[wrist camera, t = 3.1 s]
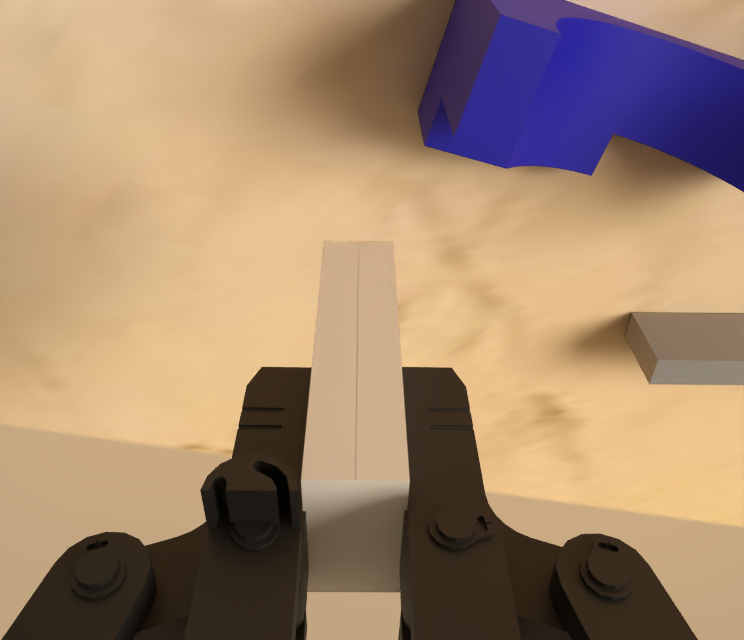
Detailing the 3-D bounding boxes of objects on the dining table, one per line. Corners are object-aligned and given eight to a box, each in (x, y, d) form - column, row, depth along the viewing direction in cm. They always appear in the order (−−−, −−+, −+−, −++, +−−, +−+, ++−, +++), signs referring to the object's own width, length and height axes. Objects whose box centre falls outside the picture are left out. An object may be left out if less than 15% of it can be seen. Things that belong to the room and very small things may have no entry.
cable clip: (417, 110, 23) (434, 190, 18) (466, -34, 20) (500, 14, 15) (727, 200, 25) (816, 292, 20) (807, 80, 22) (931, 154, 17)
